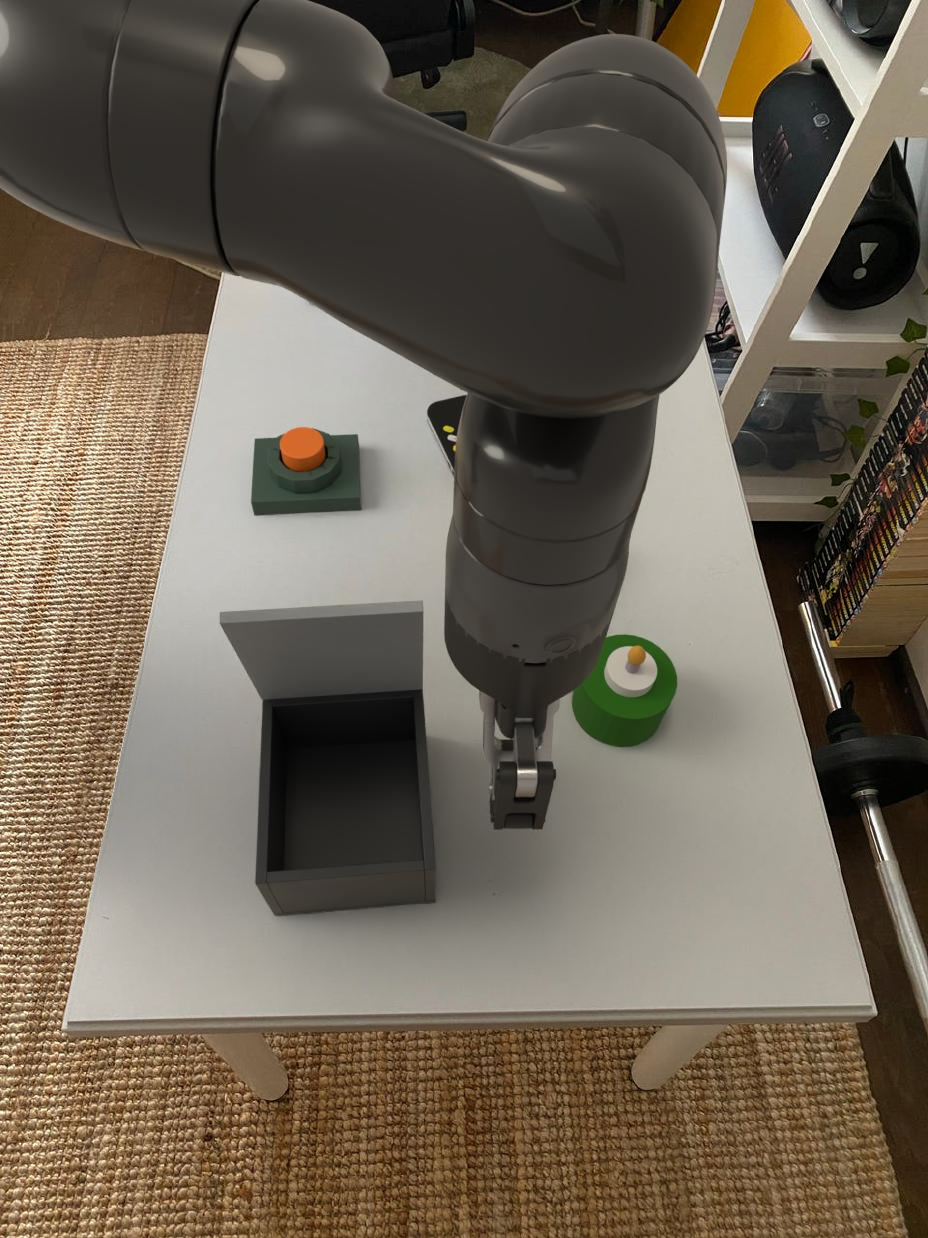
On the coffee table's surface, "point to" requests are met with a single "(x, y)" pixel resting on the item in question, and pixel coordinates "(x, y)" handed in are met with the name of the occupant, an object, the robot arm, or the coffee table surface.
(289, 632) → the storage bin lid
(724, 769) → the coffee table surface
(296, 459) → the button
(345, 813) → the open grey storage bin
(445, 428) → the remote control
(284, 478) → the button base
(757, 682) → the coffee table surface
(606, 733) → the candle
